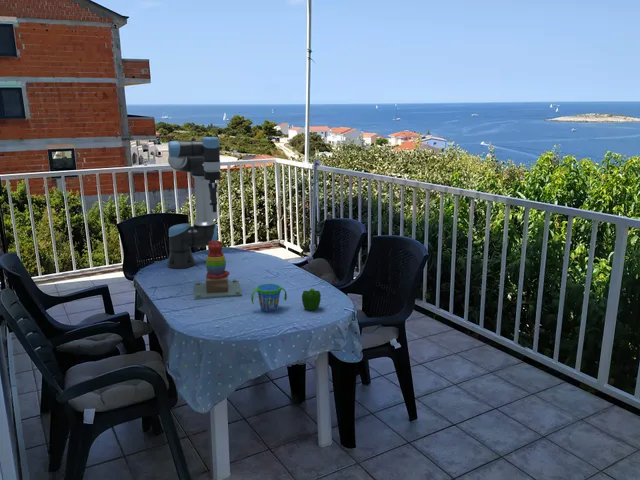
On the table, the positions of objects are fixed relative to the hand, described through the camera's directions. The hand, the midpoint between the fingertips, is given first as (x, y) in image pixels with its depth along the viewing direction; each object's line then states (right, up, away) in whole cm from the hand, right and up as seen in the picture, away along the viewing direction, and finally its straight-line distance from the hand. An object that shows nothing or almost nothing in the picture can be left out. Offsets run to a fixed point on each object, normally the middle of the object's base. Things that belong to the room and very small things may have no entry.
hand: (214, 216), depth 246 cm
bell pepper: (+46, -42, -16) cm, 64 cm away
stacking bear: (0, -29, +7) cm, 30 cm away
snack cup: (+28, -42, -16) cm, 53 cm away
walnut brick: (0, -35, +8) cm, 36 cm away
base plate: (0, -36, +8) cm, 37 cm away
